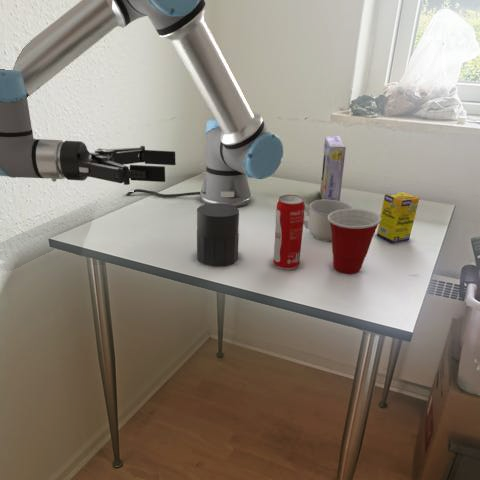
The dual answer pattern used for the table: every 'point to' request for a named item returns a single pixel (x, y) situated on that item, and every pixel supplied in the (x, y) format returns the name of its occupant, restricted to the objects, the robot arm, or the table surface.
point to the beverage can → (288, 231)
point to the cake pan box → (332, 168)
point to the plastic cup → (351, 237)
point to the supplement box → (397, 217)
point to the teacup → (322, 217)
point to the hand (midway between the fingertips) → (170, 165)
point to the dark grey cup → (217, 234)
